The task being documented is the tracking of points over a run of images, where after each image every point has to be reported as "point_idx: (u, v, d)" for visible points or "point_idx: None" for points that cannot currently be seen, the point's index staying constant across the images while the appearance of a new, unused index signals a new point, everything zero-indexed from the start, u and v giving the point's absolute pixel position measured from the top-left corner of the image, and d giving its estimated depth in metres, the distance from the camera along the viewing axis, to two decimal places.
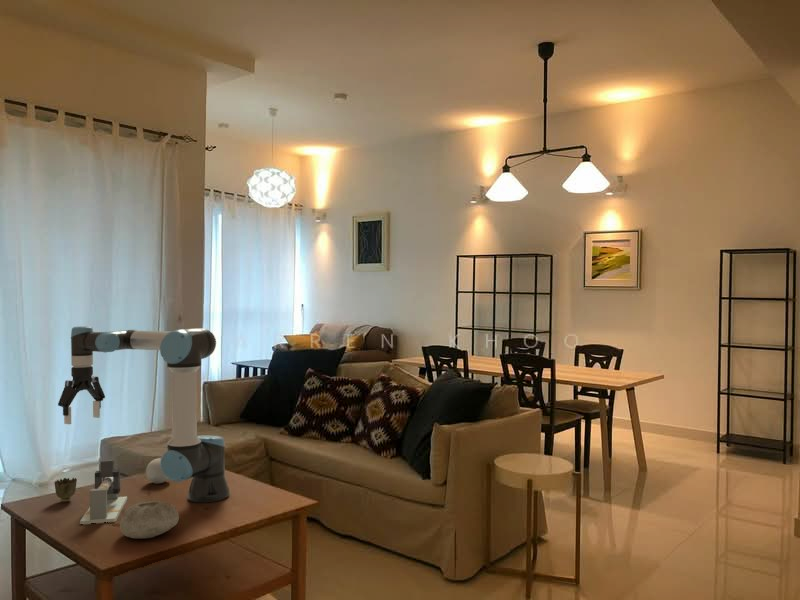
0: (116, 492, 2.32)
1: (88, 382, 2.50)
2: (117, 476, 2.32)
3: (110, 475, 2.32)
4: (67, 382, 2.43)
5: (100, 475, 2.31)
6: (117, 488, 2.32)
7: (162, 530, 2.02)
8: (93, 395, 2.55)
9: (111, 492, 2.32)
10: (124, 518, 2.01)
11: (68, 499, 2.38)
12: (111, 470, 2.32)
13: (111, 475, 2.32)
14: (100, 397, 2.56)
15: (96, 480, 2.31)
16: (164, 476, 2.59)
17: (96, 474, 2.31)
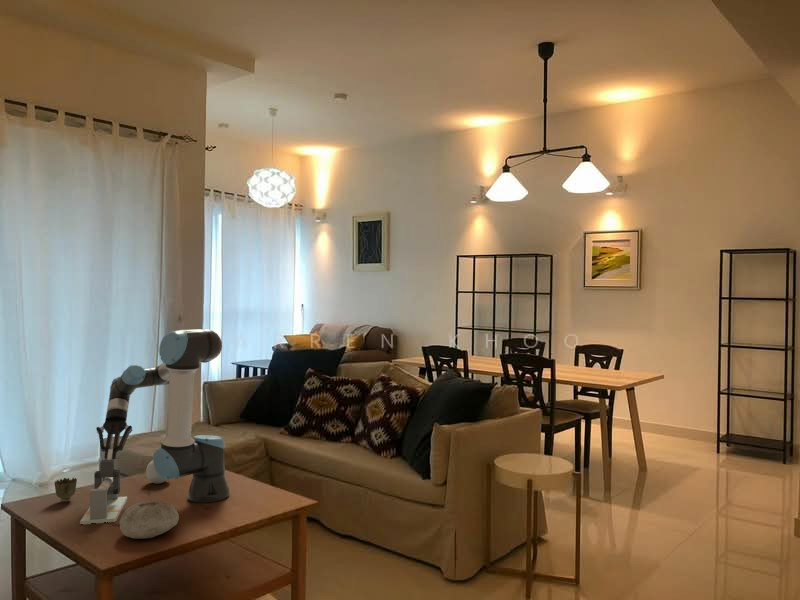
0: (116, 492, 2.32)
1: (117, 423, 2.46)
2: (117, 476, 2.32)
3: (110, 475, 2.31)
4: (97, 431, 2.44)
5: (100, 475, 2.31)
6: (117, 488, 2.32)
7: (162, 530, 2.02)
8: (114, 443, 2.42)
9: (111, 492, 2.32)
10: (124, 518, 2.01)
11: (68, 499, 2.38)
12: (111, 470, 2.31)
13: (111, 475, 2.31)
14: (116, 446, 2.40)
15: (96, 480, 2.30)
16: None
17: (96, 475, 2.30)
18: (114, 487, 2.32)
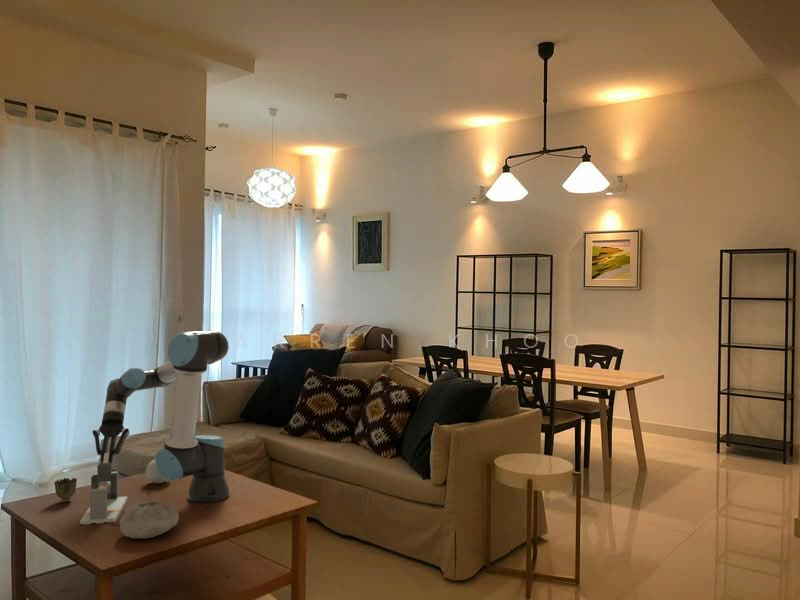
0: (113, 497, 2.27)
1: (114, 426, 2.41)
2: (114, 480, 2.27)
3: (107, 479, 2.26)
4: (93, 434, 2.39)
5: (97, 479, 2.26)
6: (114, 493, 2.27)
7: (162, 530, 2.02)
8: None
9: (108, 497, 2.26)
10: (124, 518, 2.01)
11: (68, 499, 2.38)
12: (108, 474, 2.26)
13: (108, 479, 2.26)
14: (112, 449, 2.35)
15: (93, 485, 2.25)
16: None
17: (93, 479, 2.25)
18: (111, 491, 2.27)
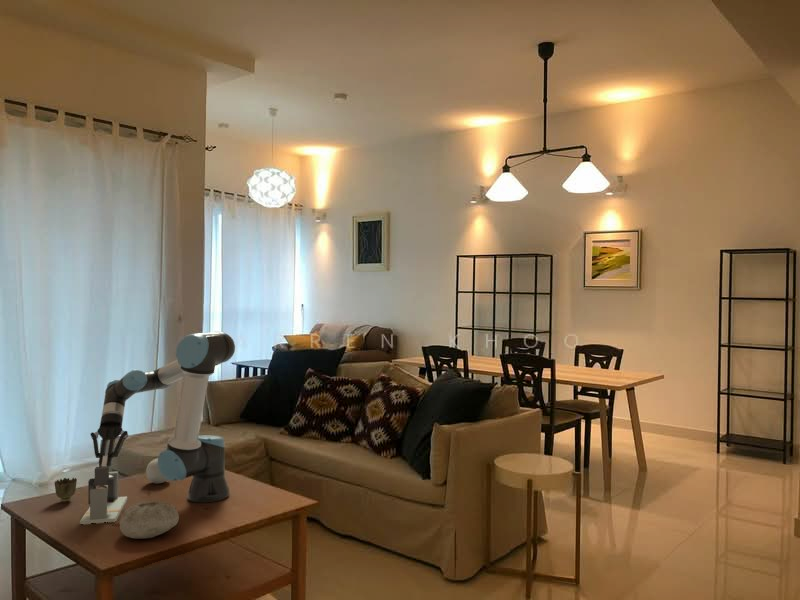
0: (111, 501, 2.23)
1: (112, 429, 2.36)
2: (112, 484, 2.23)
3: (104, 483, 2.22)
4: (91, 437, 2.35)
5: (94, 483, 2.21)
6: (112, 497, 2.23)
7: (162, 530, 2.02)
8: (109, 449, 2.33)
9: None
10: (124, 518, 2.01)
11: (68, 499, 2.38)
12: (105, 478, 2.22)
13: (105, 483, 2.22)
14: (111, 452, 2.31)
15: (90, 488, 2.21)
16: None
17: (90, 482, 2.21)
18: (109, 495, 2.23)
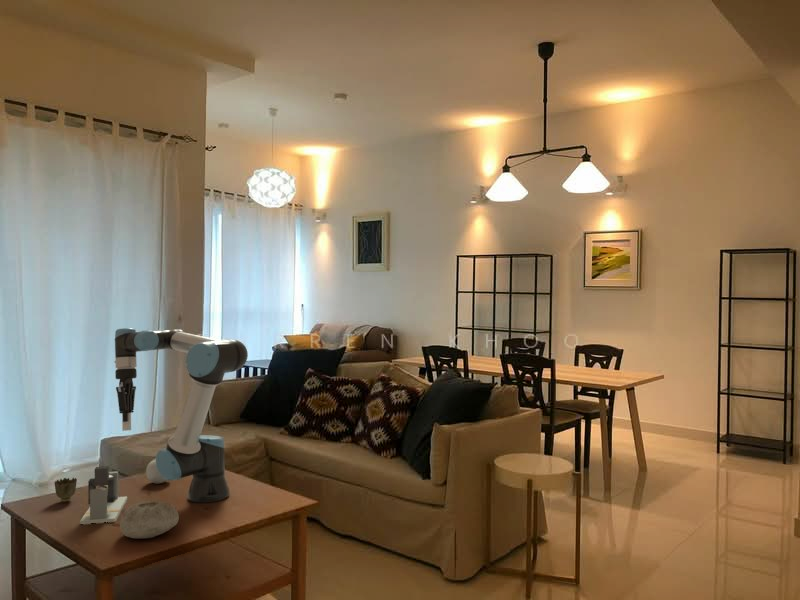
0: (111, 501, 2.23)
1: (132, 384, 2.49)
2: (112, 484, 2.23)
3: (104, 483, 2.22)
4: (118, 389, 2.41)
5: (94, 483, 2.21)
6: (112, 497, 2.23)
7: (162, 530, 2.02)
8: None
9: None
10: (124, 518, 2.01)
11: (68, 499, 2.38)
12: (105, 478, 2.22)
13: (105, 483, 2.22)
14: (131, 409, 2.48)
15: (90, 488, 2.21)
16: None
17: (90, 482, 2.21)
18: (109, 495, 2.23)
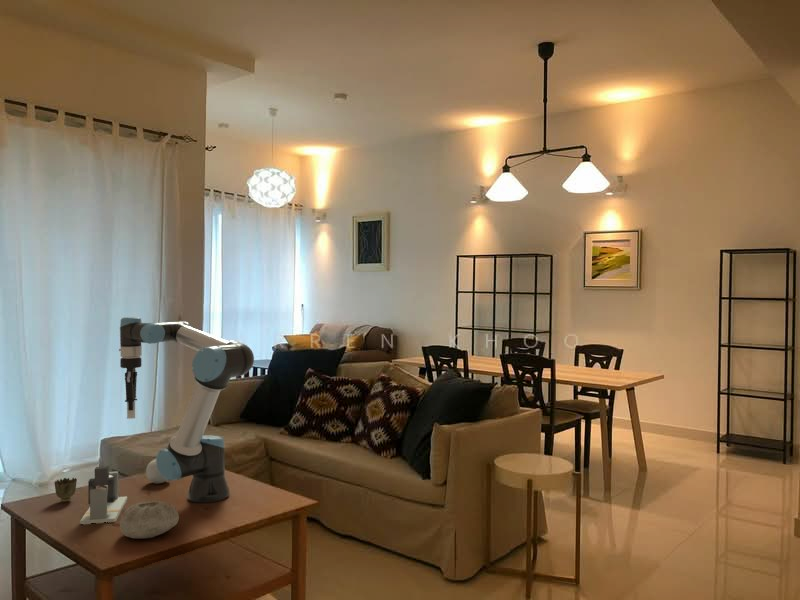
0: (111, 501, 2.23)
1: (136, 373, 2.49)
2: (112, 484, 2.23)
3: (104, 483, 2.22)
4: (127, 380, 2.42)
5: (94, 483, 2.21)
6: (112, 497, 2.23)
7: (162, 530, 2.02)
8: None
9: None
10: (124, 518, 2.01)
11: (68, 499, 2.38)
12: (105, 478, 2.22)
13: (105, 483, 2.22)
14: (135, 397, 2.50)
15: (90, 488, 2.21)
16: None
17: (90, 482, 2.21)
18: (109, 495, 2.23)
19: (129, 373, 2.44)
